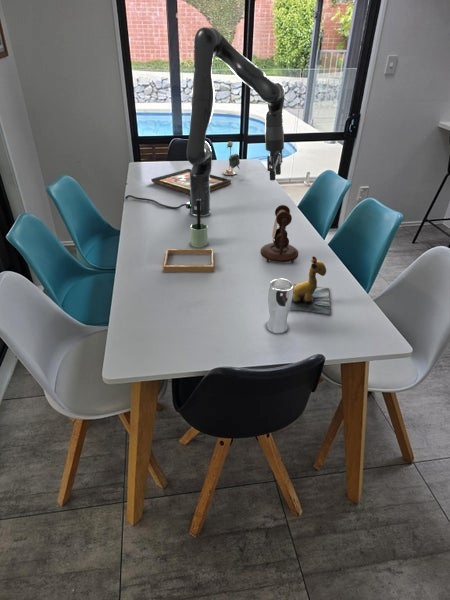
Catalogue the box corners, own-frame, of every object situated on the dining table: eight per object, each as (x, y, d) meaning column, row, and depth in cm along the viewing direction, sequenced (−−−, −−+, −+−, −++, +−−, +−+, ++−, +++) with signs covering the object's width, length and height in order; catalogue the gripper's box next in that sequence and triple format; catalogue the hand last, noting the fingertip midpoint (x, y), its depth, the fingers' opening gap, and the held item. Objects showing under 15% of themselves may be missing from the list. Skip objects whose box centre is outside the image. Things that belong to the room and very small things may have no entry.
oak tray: (163, 272, 146) (163, 266, 145) (167, 254, 158) (166, 249, 156) (213, 272, 147) (213, 266, 145) (212, 254, 158) (212, 249, 157)
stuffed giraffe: (330, 315, 125) (337, 269, 117) (272, 310, 128) (275, 265, 119) (328, 290, 138) (334, 247, 130) (276, 286, 141) (278, 244, 133)
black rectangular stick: (197, 240, 167) (196, 199, 157) (200, 240, 167) (200, 199, 157) (197, 244, 164) (196, 202, 154) (200, 244, 164) (200, 202, 154)
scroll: (259, 247, 164) (263, 200, 153) (295, 249, 164) (301, 201, 153) (261, 265, 152) (265, 215, 141) (299, 266, 151) (306, 216, 140)
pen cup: (191, 240, 168) (190, 223, 164) (207, 240, 169) (207, 223, 164) (190, 248, 163) (189, 230, 158) (207, 248, 163) (207, 230, 158)
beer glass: (263, 320, 122) (267, 278, 114) (286, 319, 123) (291, 277, 114) (267, 334, 116) (271, 291, 108) (291, 333, 117) (297, 290, 109)
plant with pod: (241, 175, 249) (242, 141, 238) (223, 175, 247) (224, 141, 236) (238, 171, 256) (240, 138, 244) (221, 172, 254) (221, 138, 243)
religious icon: (234, 181, 237) (234, 177, 236) (200, 198, 212) (200, 193, 211) (183, 171, 254) (183, 166, 252) (146, 185, 229) (146, 180, 227)
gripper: (270, 134, 170) (271, 172, 179) (260, 141, 159) (262, 182, 168) (287, 133, 167) (288, 173, 176) (278, 141, 156) (279, 182, 165)
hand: (275, 177), depth 172 cm, fingers open, 8 cm apart
